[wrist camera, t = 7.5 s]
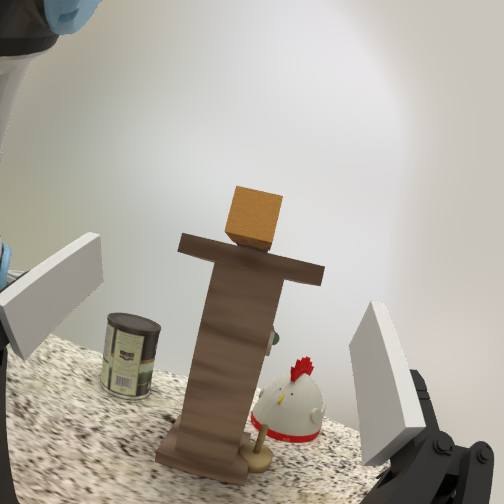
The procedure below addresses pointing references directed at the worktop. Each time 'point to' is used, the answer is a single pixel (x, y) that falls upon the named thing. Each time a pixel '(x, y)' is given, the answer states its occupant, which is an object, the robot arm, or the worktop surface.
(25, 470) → the worktop surface
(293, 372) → the kitchen timer
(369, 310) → the robot arm
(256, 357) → the stand
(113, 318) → the coffee can
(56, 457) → the worktop surface
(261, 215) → the long square bar
